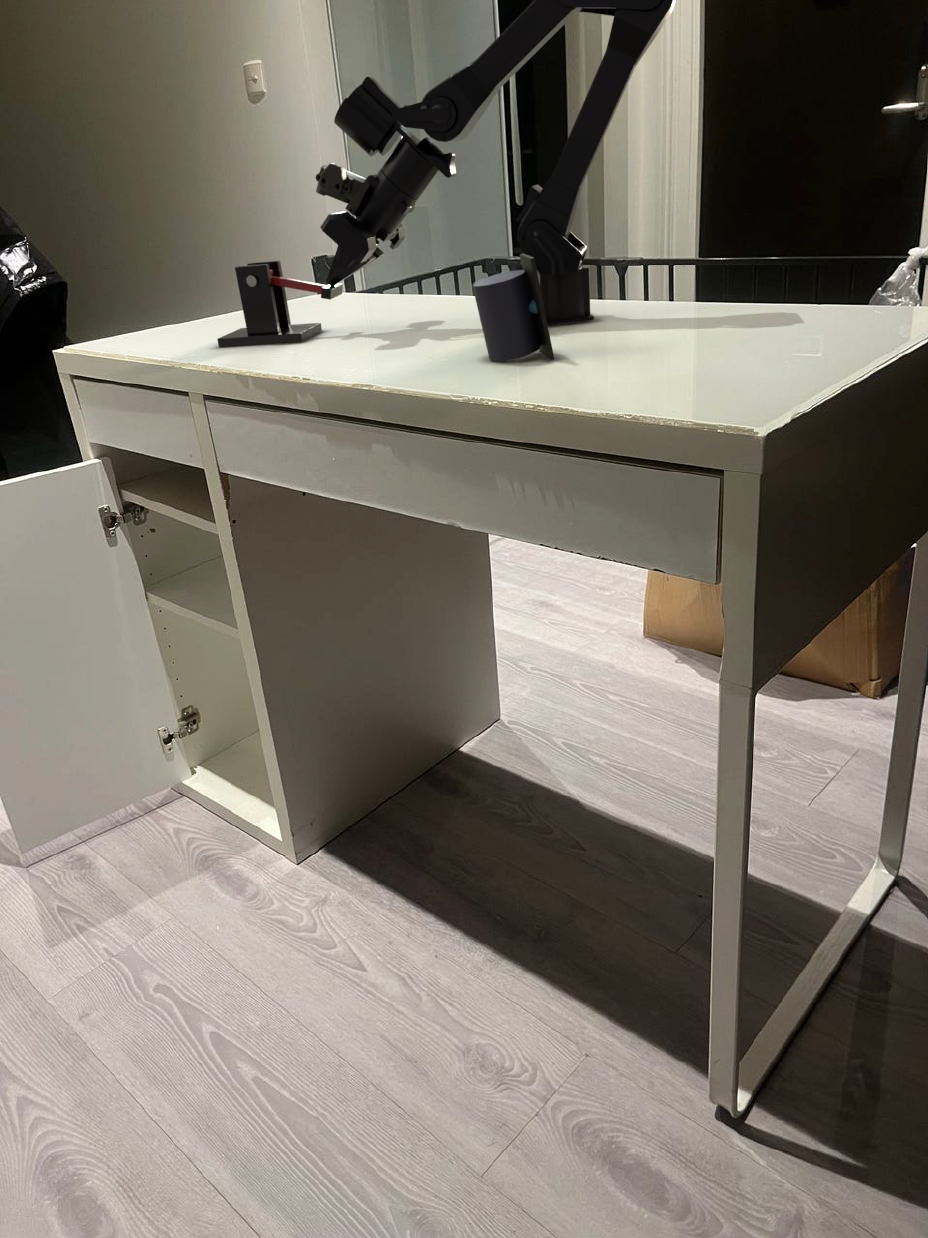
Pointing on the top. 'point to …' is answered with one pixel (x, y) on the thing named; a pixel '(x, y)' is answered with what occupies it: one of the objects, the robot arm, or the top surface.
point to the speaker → (513, 313)
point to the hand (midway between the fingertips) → (329, 283)
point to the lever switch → (265, 310)
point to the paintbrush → (308, 286)
